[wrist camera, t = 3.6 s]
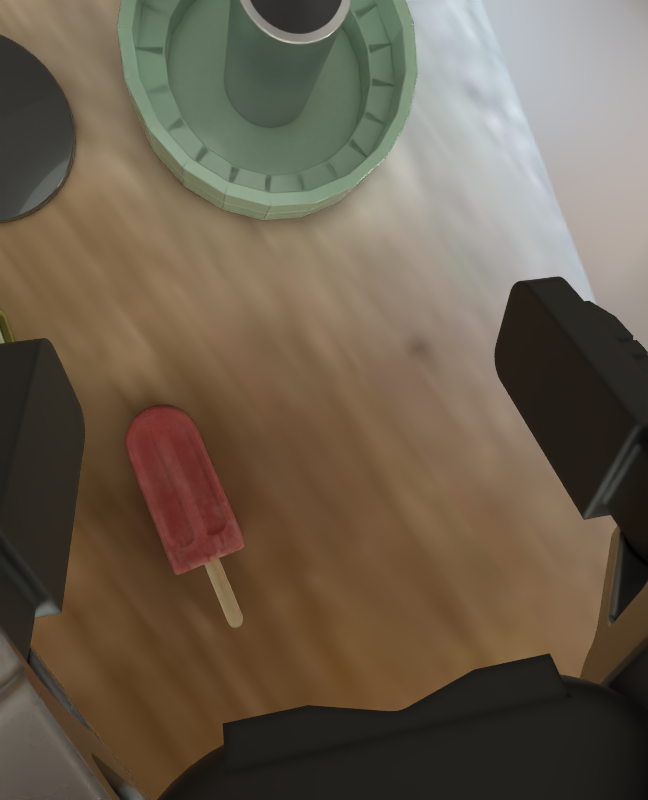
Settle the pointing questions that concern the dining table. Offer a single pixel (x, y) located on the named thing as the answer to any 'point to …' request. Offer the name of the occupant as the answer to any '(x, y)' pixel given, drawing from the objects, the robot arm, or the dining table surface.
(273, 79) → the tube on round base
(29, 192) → the coaster
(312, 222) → the dining table surface
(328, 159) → the bowl
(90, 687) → the dining table surface
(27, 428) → the robot arm
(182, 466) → the popsicle
